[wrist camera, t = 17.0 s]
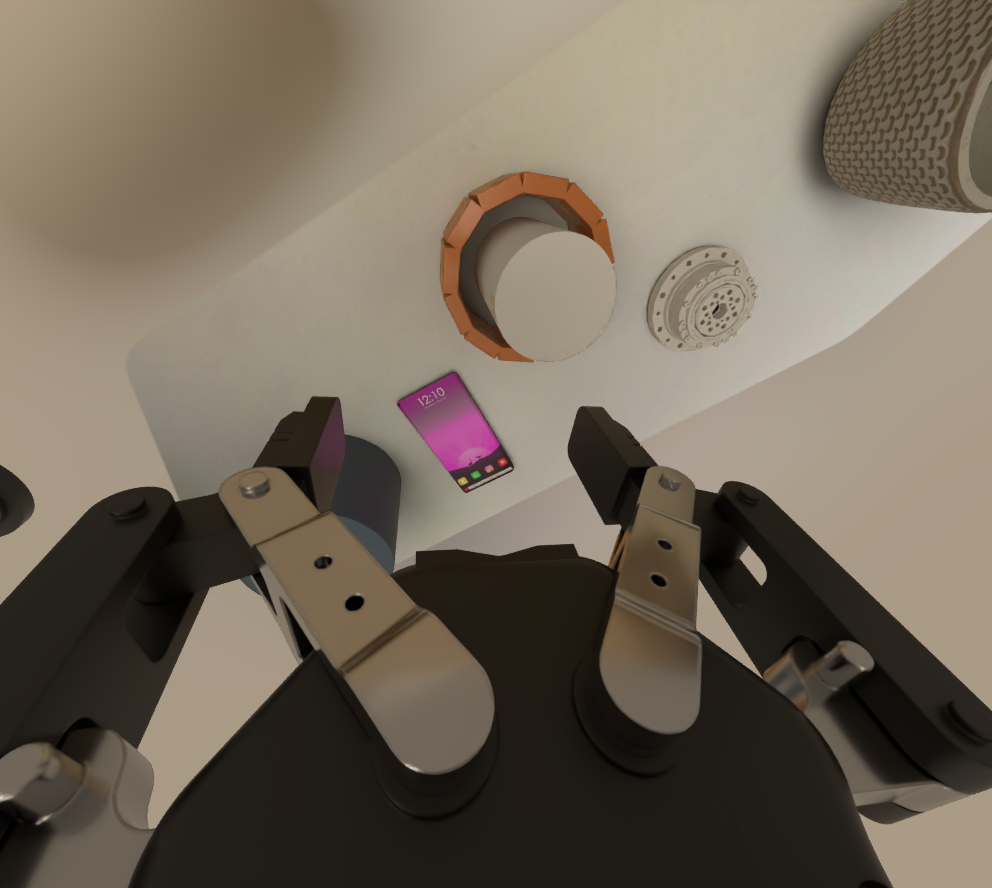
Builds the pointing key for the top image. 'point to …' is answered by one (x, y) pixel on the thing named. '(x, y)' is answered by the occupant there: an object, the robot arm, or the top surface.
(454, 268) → the ring
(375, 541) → the stand
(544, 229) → the white patterned cylinder
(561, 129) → the top surface
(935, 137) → the planter
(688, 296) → the mechanical component
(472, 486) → the smartphone
